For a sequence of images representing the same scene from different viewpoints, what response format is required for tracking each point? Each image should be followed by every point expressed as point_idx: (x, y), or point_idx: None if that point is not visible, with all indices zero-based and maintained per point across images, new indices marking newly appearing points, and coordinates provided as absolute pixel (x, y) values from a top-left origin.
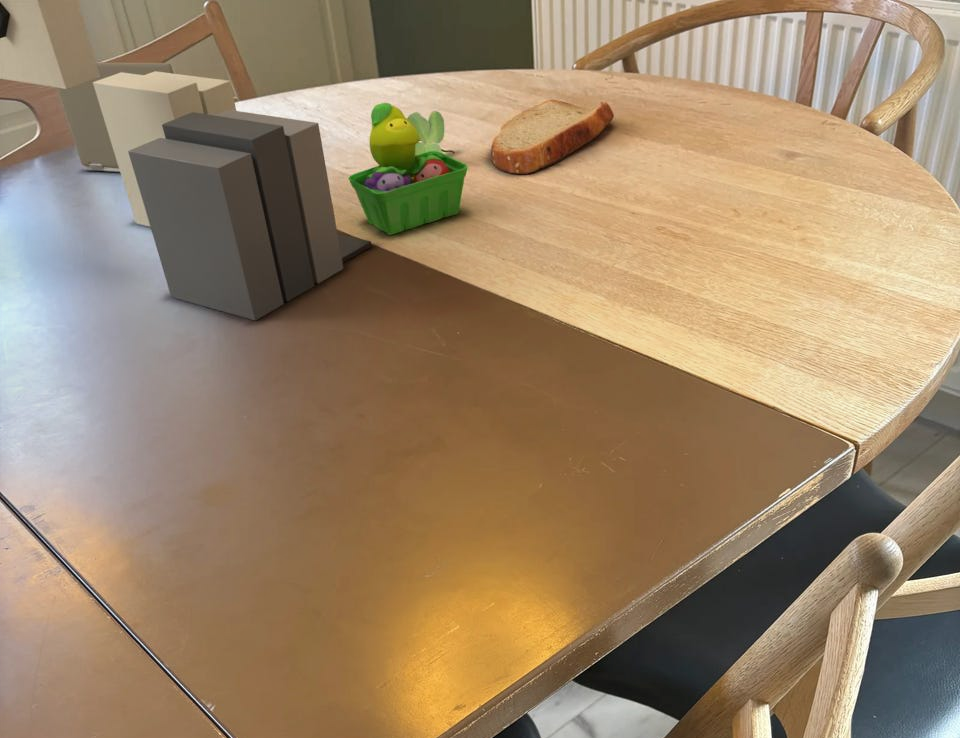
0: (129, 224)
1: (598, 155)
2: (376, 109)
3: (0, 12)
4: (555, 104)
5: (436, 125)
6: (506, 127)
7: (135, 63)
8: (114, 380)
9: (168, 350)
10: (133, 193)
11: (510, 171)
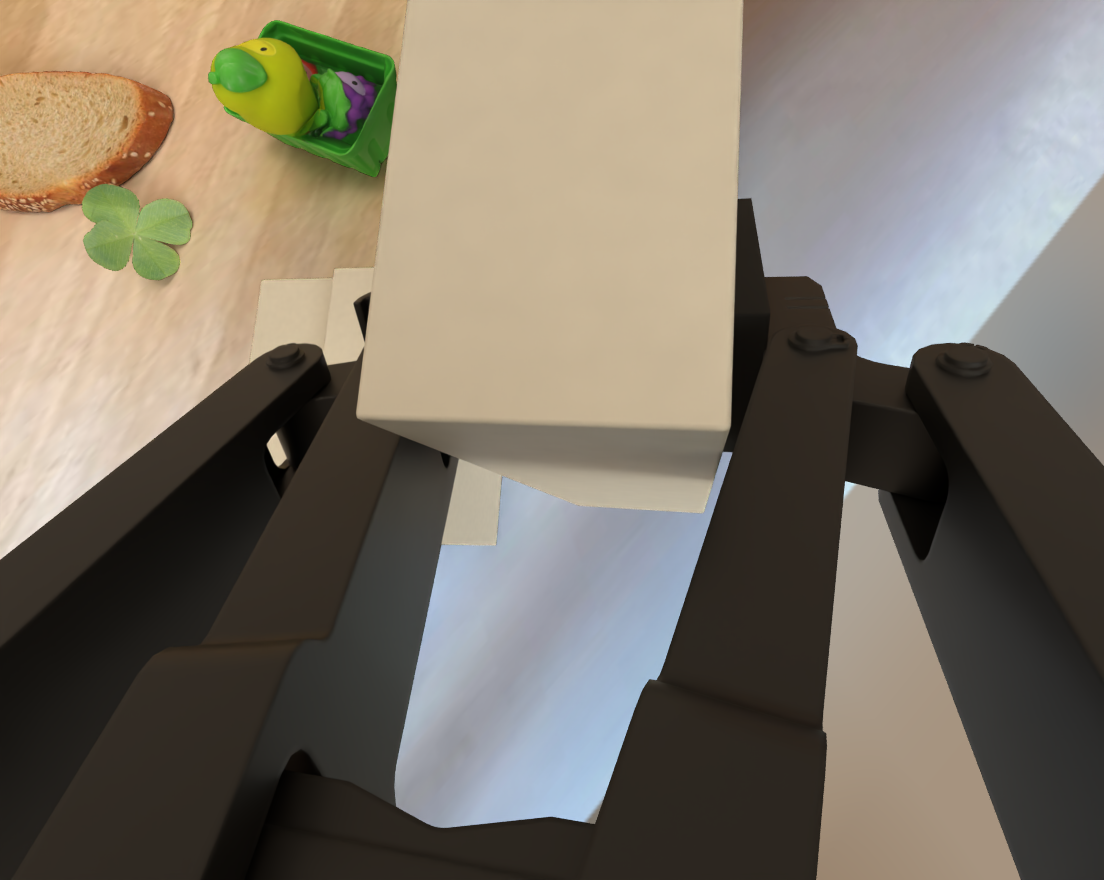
0: (502, 556)
1: (93, 64)
2: (239, 65)
3: (751, 202)
4: None
5: (108, 205)
6: (50, 183)
7: None
8: (953, 106)
9: (842, 113)
10: (479, 523)
11: (171, 118)
